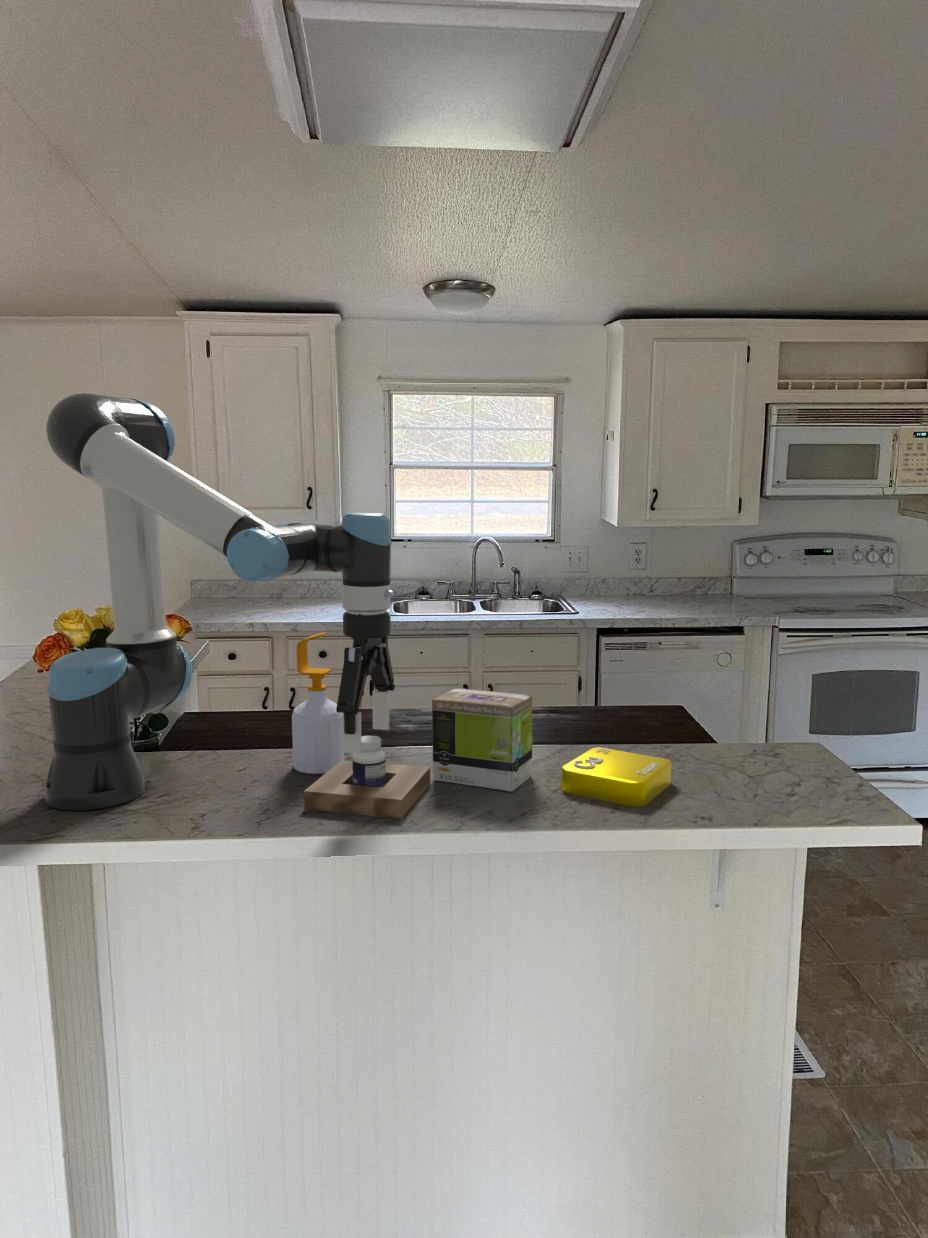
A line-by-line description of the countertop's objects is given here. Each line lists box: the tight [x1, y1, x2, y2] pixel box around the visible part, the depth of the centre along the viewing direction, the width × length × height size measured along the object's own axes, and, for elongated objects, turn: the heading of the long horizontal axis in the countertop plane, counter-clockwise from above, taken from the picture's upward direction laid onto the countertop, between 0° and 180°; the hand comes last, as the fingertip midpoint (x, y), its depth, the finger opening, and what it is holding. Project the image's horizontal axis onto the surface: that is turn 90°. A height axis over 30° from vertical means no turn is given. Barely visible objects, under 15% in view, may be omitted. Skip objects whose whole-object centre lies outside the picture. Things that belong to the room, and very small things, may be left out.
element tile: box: [560, 746, 672, 807], centre depth 149 cm, size 15×15×5 cm
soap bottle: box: [291, 631, 345, 775], centre depth 157 cm, size 9×9×25 cm
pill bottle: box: [351, 735, 387, 787], centre depth 143 cm, size 5×5×10 cm
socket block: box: [303, 759, 431, 819], centre depth 144 cm, size 16×16×3 cm
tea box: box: [431, 687, 533, 793], centre depth 152 cm, size 15×10×15 cm, turn 65°
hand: (367, 740), depth 143 cm, fingers open, 13 cm apart
